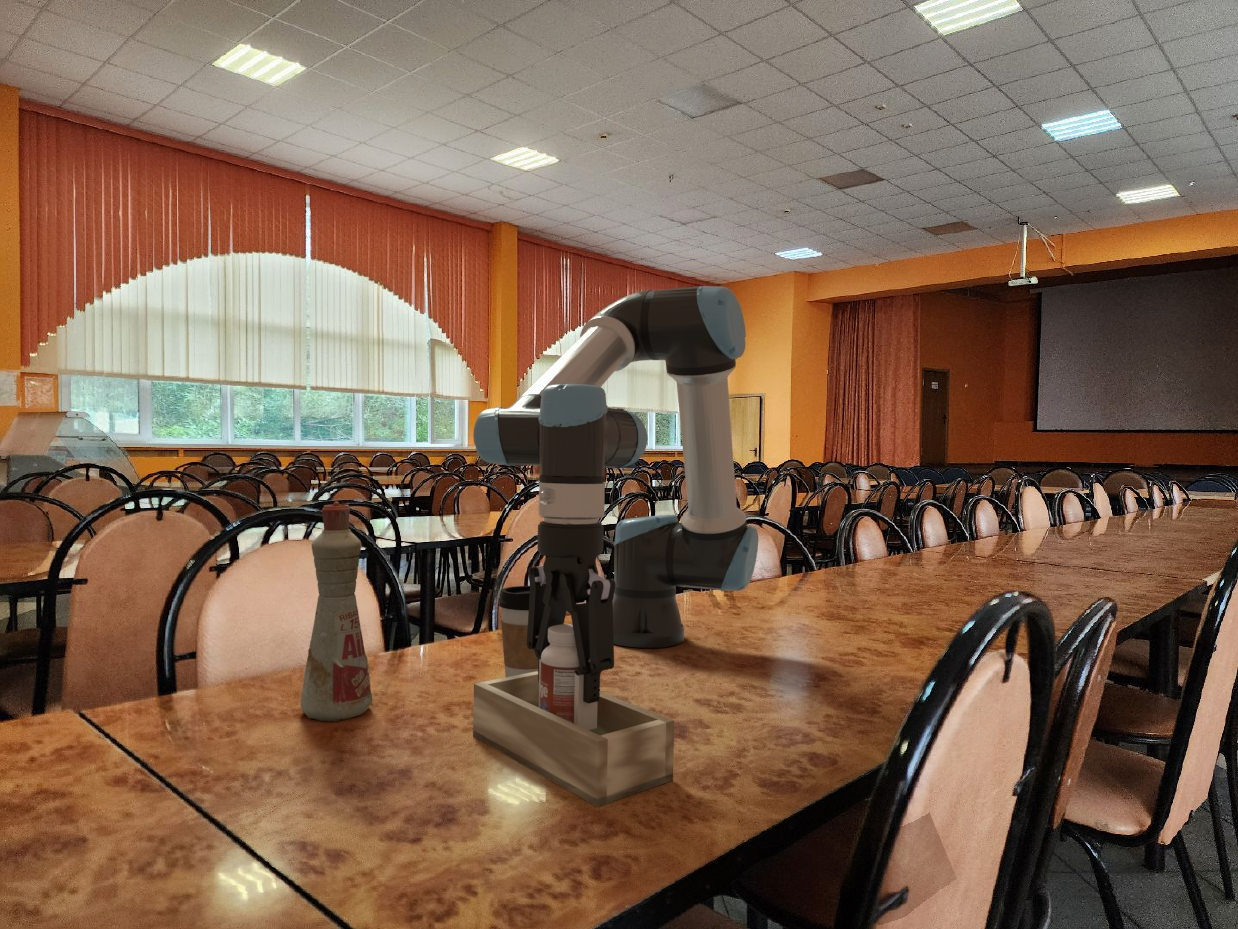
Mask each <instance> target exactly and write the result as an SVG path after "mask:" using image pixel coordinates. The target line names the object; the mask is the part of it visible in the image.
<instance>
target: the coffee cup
mask: <svg viewBox="0 0 1238 929" xmlns="http://www.w3.org/2000/svg"><path fill="white" fill-rule="evenodd" d="M529 597H530V585H515V586H508V587H505V588H502V589H501V591H500V597H499V600H498V602H499V603H498V606H499V607H500V608H501V620H500V626H501V638H502V639H501V640H502V651H503V661H504V662H503V664H504V675H505V676H504V678H505V677H510V676H515V675H521V674H526V673H531V672H536V671H538V658H537V657H536V655H535V651H534V650H533V649H528V647H527V629H528V613H529ZM536 638H538V636H536Z"/></svg>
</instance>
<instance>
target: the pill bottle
mask: <svg viewBox="0 0 1238 929" xmlns="http://www.w3.org/2000/svg"><path fill="white" fill-rule="evenodd" d="M548 642H549V643H550V646H548V647H546V648H545V649H544V650H543V652H542V655H541V677H540V708H541V709H543V710H545V711H547V712H550V713H552V714H554V715H556V716H558V717H561V718H563V719H565V720H567V721H569V722H572V723H574V687H575V670H580V667H579V661H578V655H577V649H576V643H575V637H574V631H573V625H572V623H570V624H569V623H564V624H562V625H555V626H552V627H549V628H548ZM589 662H590V659H589Z"/></svg>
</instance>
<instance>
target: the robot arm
mask: <svg viewBox="0 0 1238 929" xmlns="http://www.w3.org/2000/svg"><path fill="white" fill-rule="evenodd" d="M746 336H747V335H746V324H745V320H744V314H743V311H742V307H741V305H740V302H739V300H738V298H737V296H736V295H735V293H734V292H733V291H732V290H731V289H730V288H727V287H725V286H710V285H708V286H707V285H700V286H699V285H698V286H690V287H689V286H688V287H678V288H668V289H667V288H666V289H663V288H662V289H655V290H653V289H648V290H647V289H646V290H640V291H636V292H633V293H630V294H629V295H626V296H623V297H621V298H619V299H617V300H616V301H614V302H612V303H610V304H609V305H607V306H606V307H604V308H603V309H601V310H600V311H599V312H597V313H595V314H594V316H592V317H591V318H590V319H589V320H588V321H587V322H586V323H585V324H584V326H583V327H582V329H581V331H580V334H579V339H577V340H576V342H574V343H573V344H572V346H570V347H569V348H568V349H567V350H566V352H564V353H563V354H562V355H561V356H560V357H559V358H558V359H557V360H556V361H555V362H554V363H553V364H552V365H551V366H550V367H549V368H548V369H547V370H546V371H544V372H543V374H542V375H541V376H540V377H539V378H537V380H536V381H535V382H533V384H532V385H531V386H530V387H529V388H528V389H527V390H525V391H524V392H523V393H522V395H521V396H519V397H518V398H517V400H515V401H514V402H513V403H512V404H511V405H510V406H509V407H503V406H497V407H494V408H487V409H484V410H483V411H481V412H480V413H479V414H478V416H477V417H476V419H475V422H474V427H473V435H472V436H473V444H474V445H475V449H476V453H477V455H478V457H479V458H481V460H483V461H484V462H486V463H489V464H496V465H506V466H507V467H511V466H539V475H538V478H539V479H538V482H539V486H538V487H539V488H538V491H539V492H538V515H539V516H540V518H543V520H541V521H539V523H538V524H537V548H536V549H537V552H538V553H539V554H540V555H542V556H545V557H544V560H543V561H544V562H543V564H542V565H541V566H540V565H538V566H530V567H528V569H527V570H528V571H527V574H528V580H529V581H528V582H529V586H530V597H529V613H528V629H527V647H528V649H533V650H534V651H535V655H536V657H537V658H538V682H539V708H540V677H541V655H542V652H543V650H544V649H545V648H546V647H548V646H550V643H549V642H548V628H549V627H552V626H555V625H562V624H565V620H566V619H565V618H566V615H567V613H569V614H570V616H571V624H572V625H573V631H574V637H575V643H576V649H577V655H578V661H579V667H580V670H575V687H574V724H576V725H578V726H580V727H583V728H585V729H587V730H591V729H595V728H597V701H599V698H600V692H601V690H600V689H601V673H602V672H604V671H607V670H612V669H614V667H615V647H614V646H615V645H617V646H621V647H622V646H623V647H630V648H642V649H643V648H644V649H645V648H646V649H648V648H649V649H651V648H653V649H654V648H656V649H657V648H667V647H673V646H676V645H679V644H682V643H683V642H684V641H685V626H684V624H683V622H682V619H681V613H680V610H679V607H678V603H677V598H676V597H677V593H676V592H677V591H676V590H677V589H676V588H677V587H680V588H681V587H683V588H691V589H692V588H694V589H705V590H716V591H721V592H725V591H730V592H731V591H735V592H740V591H743V590H745V589H746V588H747V587H748V586H749V585H750V582H751V579H752V577H753V574H754V572H755V571H754V570H755V567H756V563H757V557H758V551H759V550H758V549H759V533H758V529H757V528H756V527H753V526H752V525H749V526H748V524H747V516H746V513H745V512H744V511H743V510H741V509H740V508H739V507H738V505H737V494H736V493H737V492H736V478H735V477H736V476H735V466H734V452H733V450H734V449H733V438H732V437H733V435H732V423H731V409H730V408H731V407H730V394H729V393H730V392H729V379H728V378H729V375H731V373H733V371H734V370H735V369H736V367H737V362H736V360H738V359H739V358H741V357H743V355H744V352H745V350H746V339H745V338H746ZM641 361H642V362H643V361H664V362H665V369H666V374H667V376H669V377H670V378H672V379H673V380H674V381H675V383H676V390H677V391H676V392H677V401H678V403H677V404H678V411H679V421H680V434H681V444H682V455H683V466H684V476H685V477H684V478H685V487H686V488H685V489H686V498H687V509H688V510H687V511H686V513H684V514H683V516H682V517H681V518H680V519H681V520H680V522H679V519H678V517H677V516H678V515H677V514H661V515H651V516H642V517H641V516H640V517H633V518H624V519H622V520H620V521H619V522H618V523H617V525H616V527H615V534H614V535H615V536H614V537H615V538H614V542H613V546H614V559H613V560H614V563H613V564H614V567H613V570H614V574H613V576H614V578H610V579H607V578H606V579H605V578H603V577H602V576H600V575H599V570H598V567H597V561H596V560H597V558H598V556H600V555H602V554H603V552H604V531H605V530H604V524H603V523H602V522H600V520H599V519H602V518H603V517H604V516H605V470H606V469H607V468H609V469H614V468H615V469H623V468H624V467H628V466H631V465H633V464H635V463H637V462H638V461H639V460H640V458H641V457H642V456H643V455H644V453H645V451H646V449H647V445H648V431H647V429H646V426H645V423H644V422H643V421H642V419H641V418H640V417H639V416H638V415H636V413H633V412H631V411H628V410H626V409H624V408H621V407H617V408H611V407H608V405H607V394H606V391H605V390H604V388H602V386H603V385H604V384H605V383H606V382H607V381H608V380H609V378H610V377H611V376H612V375H613V374H614V372H618V371H622V370H623V369H625V368H626V367H628V366H629V365H630V364H631V363H634V362H641ZM605 468H606V469H605ZM536 636H538V638H536ZM589 659H590V662H589Z"/></svg>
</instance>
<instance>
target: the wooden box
mask: <svg viewBox="0 0 1238 929" xmlns="http://www.w3.org/2000/svg"><path fill="white" fill-rule="evenodd" d="M472 715H473V716H472V718H473V720H472V721H473V722H472V723H473V724H472V737H474V738H475V739H476V740H479V741H480V742H482V743H484V744H486V745H487V746H489V747H491V748H493V749H494V750H496V751H498V752H500V753H501V754H503V755H505V756H507V757H508V758H510V759H512V760H513V761H516V762H518V763H519V764H521V765H523V766H524V767H526V768H528V769H530V770H532V771H533V772H535V773H537V774H538V775H540V776H541V777H544V778H546V779H547V780H548V781H550V782H553V783H554V784H556V785H557V786H560V787H561V788H562V789H565V790H567V791H569V792H570V793H572V794H573V795H575V796H577V797H579V798H580V799H583V800H585V801H586V802H587V803H590V804H591V805H593V806H595V807H596V808H599V807H601V806H603V805H607V804H609V803H613V802H615V801H618V800H621V799H624V798H627V797H629V796H633V795H635V794H638V793H641V792H644V791H647V790H650V789H652V788H655V787H659V786H661V785H664V784H667V783H671V782H673V781H674V754H675V753H674V750H675V749H674V748H675V745H674V744H675V742H674V741H675V720H674V719H671V718H668V717H666V716H664V715H661V714H659V713H657V712H655V711H651V710H648V709H645V707H644V708H643V707H641V706H638V705H636V704H633V703H630V702H629V701H625V700H623V699H620V698H618V697H615V696H612V695H609V694H607V693H604V692H602V691H600V698H599V701H597V728H595V729H591V730H587V729H585V728H583V727H580V726H578V725H576V724H574V723H572V722H569V721H567V720H565V719H563V718H561V717H558V716H556V715H554V714H552V713H550V712H547V711H545V710H543V709H541V708H539V682H538V671H536V672H531V673H526V674H521V675H515V676H510V677H505V676H504V677H502V678H500V677H499V678H497V679H491V680H486V681H485V680H484V681H480V682H476V683H473V714H472Z"/></svg>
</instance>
